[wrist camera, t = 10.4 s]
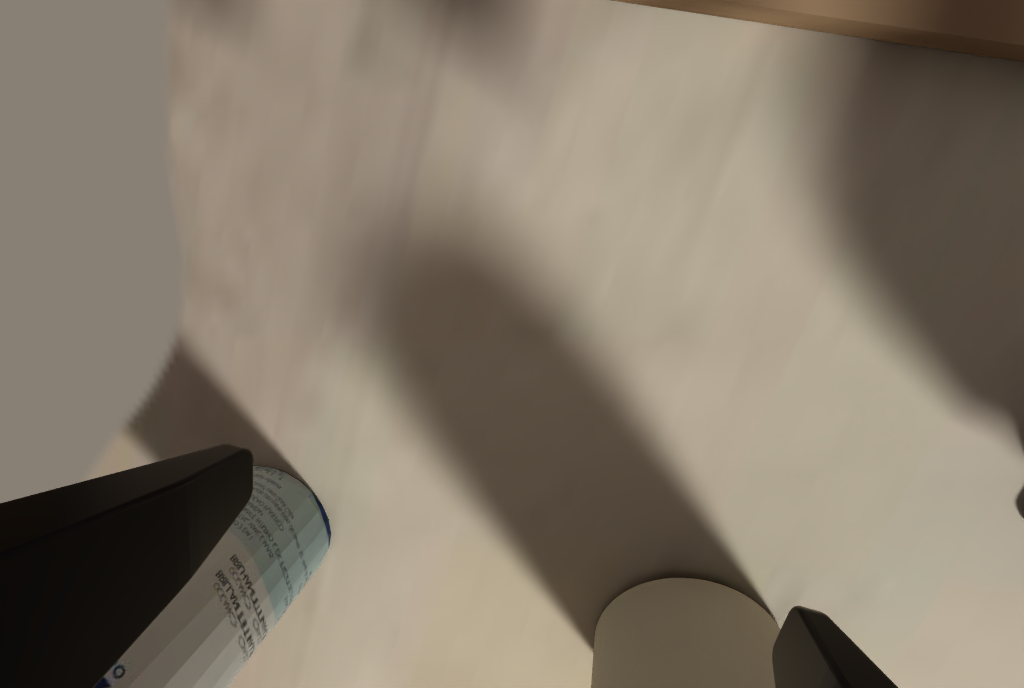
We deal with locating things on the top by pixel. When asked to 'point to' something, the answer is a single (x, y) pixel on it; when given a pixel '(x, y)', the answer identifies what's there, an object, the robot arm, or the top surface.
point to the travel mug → (683, 638)
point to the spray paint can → (232, 592)
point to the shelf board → (885, 20)
